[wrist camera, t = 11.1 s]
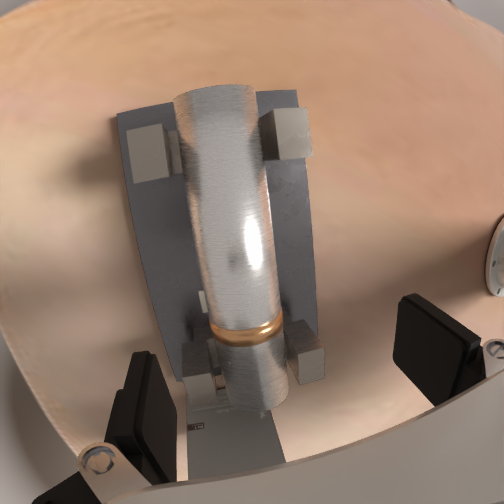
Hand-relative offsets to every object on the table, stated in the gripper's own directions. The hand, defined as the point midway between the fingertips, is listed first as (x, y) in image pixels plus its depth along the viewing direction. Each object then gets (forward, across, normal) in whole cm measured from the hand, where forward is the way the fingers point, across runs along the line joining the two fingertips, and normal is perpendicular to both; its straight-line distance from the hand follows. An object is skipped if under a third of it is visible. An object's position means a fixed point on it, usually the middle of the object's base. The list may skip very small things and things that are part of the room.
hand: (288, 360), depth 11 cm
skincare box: (+16, +4, +18) cm, 24 cm away
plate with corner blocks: (+16, +1, 0) cm, 16 cm away
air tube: (+10, 0, 0) cm, 10 cm away
